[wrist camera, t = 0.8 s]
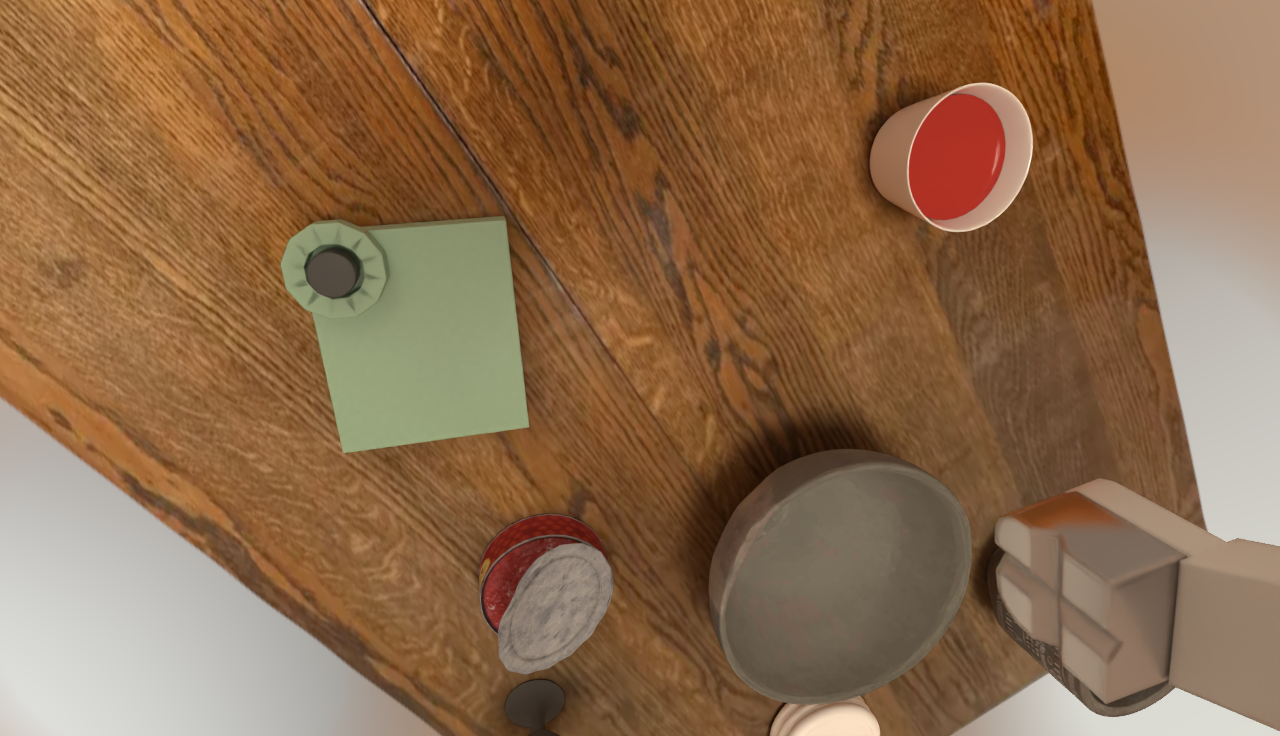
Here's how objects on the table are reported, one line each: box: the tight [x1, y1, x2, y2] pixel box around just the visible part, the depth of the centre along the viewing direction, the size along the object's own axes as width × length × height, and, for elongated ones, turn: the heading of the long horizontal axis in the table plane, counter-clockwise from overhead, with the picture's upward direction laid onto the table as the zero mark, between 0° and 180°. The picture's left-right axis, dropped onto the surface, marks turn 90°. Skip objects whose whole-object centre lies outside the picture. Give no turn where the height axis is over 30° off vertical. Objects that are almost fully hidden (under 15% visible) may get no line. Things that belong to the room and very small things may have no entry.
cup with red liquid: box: [870, 83, 1033, 232], centre depth 46 cm, size 9×9×6 cm
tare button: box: [306, 248, 360, 298], centre depth 39 cm, size 3×3×1 cm
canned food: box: [479, 514, 613, 674], centre depth 50 cm, size 11×10×10 cm
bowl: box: [709, 449, 972, 705], centre depth 52 cm, size 20×20×10 cm
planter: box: [986, 546, 1175, 717], centre depth 59 cm, size 12×12×13 cm
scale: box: [280, 216, 529, 453], centre depth 43 cm, size 15×13×4 cm
